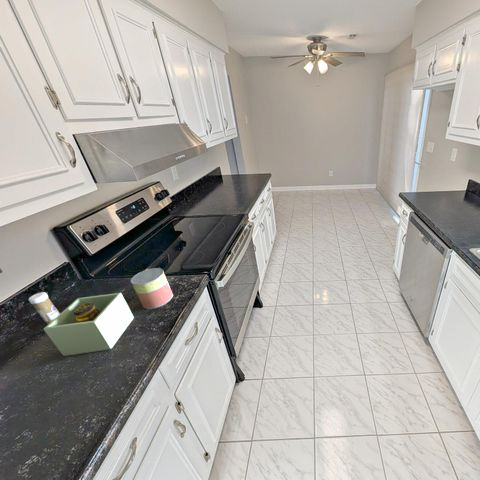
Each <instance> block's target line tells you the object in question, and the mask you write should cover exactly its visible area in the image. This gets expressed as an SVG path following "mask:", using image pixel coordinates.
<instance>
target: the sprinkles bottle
mask: <svg viewBox="0 0 480 480" xmlns="http://www.w3.org/2000/svg"><path fill="white" fill-rule="evenodd" d="M28 301H29V303H30V304H31V305H32V306H33V307H34V308H35V310H36V312H37V313H38V314H39V316H40V317H41V319H42V320H43V321H44V322H45V323H46V324H47V325H48V324H50V323H51V322H52V321H53V320H54V319H55V318H56V317H57V316H58V315H60V314H61V312H59V310H58V309H57V307H56V306H55V305H54V303H53V302H52V300H51V299H50V298H49V295H48V294H47V293H46V292H45V291H42V292H37V293H35V294H33V295H31V296H29V298H28Z"/></svg>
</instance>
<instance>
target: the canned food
mask: <svg viewBox="0 0 480 480" xmlns="http://www.w3.org/2000/svg"><path fill="white" fill-rule="evenodd" d="M130 283H131V285H132V286H133V289H134V291H135V293H136V295H137V297H138V299H139V301H140V303H141V306H142V308H144V309H147V310H152V309H153V310H154V309H157V308H160V307H162V306H164V305H166V304H168V302H170V301H172V298H174V297H173V296H174V293H173V291H172V289H171V286H170V283H169V281H168V279H167V276H166V274H165V271H164V269H163V268H161V267H154V268H153V267H152V268H148V269H145V270H142V271H140V272H137V274H135V275H133V277H131V279H130Z"/></svg>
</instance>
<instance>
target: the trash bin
mask: <svg viewBox="0 0 480 480" xmlns="http://www.w3.org/2000/svg"><path fill="white" fill-rule="evenodd" d="M85 303H93V304H94V306H95V307H96V308H97V309H99V311H100V314H99V315H98V316H97V317H96V318H95V319H94V321H88V322H80V323H78V322H77V320H76V316H75V314H74V312H73V311H74V310H75V309H76V308H77V307H78V306H80V305H83V304H85ZM134 318H135V317H134V315H133V313H132V311H131V309H130V307H129V305H128V303H127V301H126V300H125V298H124V296H123V293H122V292H117V293H116V292H115V293H109V294H107V293H106V294H100V295H93V296H85V297H77V298H76V299H75V300H73V302H72V303H70V305H68V306H67V307H66V308H65V309H64V310H62V312H60V315H58V316H57V317H56V318H55V319H54V320H53V321H52V322H51V323H50V324H47V325H46V326H45V327H44V328H43V331H44V332H45V334H46V335H47V336H48V337H49V339H50V340H51V342H52V343H53V344H54V346H55V347H56V348H57V349H58V351H59V352H60V353H61V354H62V357H63V356H64V357H66V356H67V357H68V356H74V355H80V354H88V353H93V352H100V351H107V350H112V349H113V348H114V346H115V344H116V343H117V342H118V340H119V339H120V338H121V337H122V335H123V333H124V332H125V331H126V330H127V329H128V327H129V325H130V324H131V323H132V322H133V320H134Z"/></svg>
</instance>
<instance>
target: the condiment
mask: <svg viewBox="0 0 480 480" xmlns="http://www.w3.org/2000/svg"><path fill="white" fill-rule="evenodd" d="M73 312H74V314H75V316H76V320H77V322H78V323H80V322H88V321H94V319H95V318H96V317H97V316H98V315H99V314H100V311H99V309H97V308H96V307H95V306H94V304H93V303H85V304H83V305H80V306H78V307H77V308H76V309H75V310H74V311H73Z"/></svg>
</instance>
